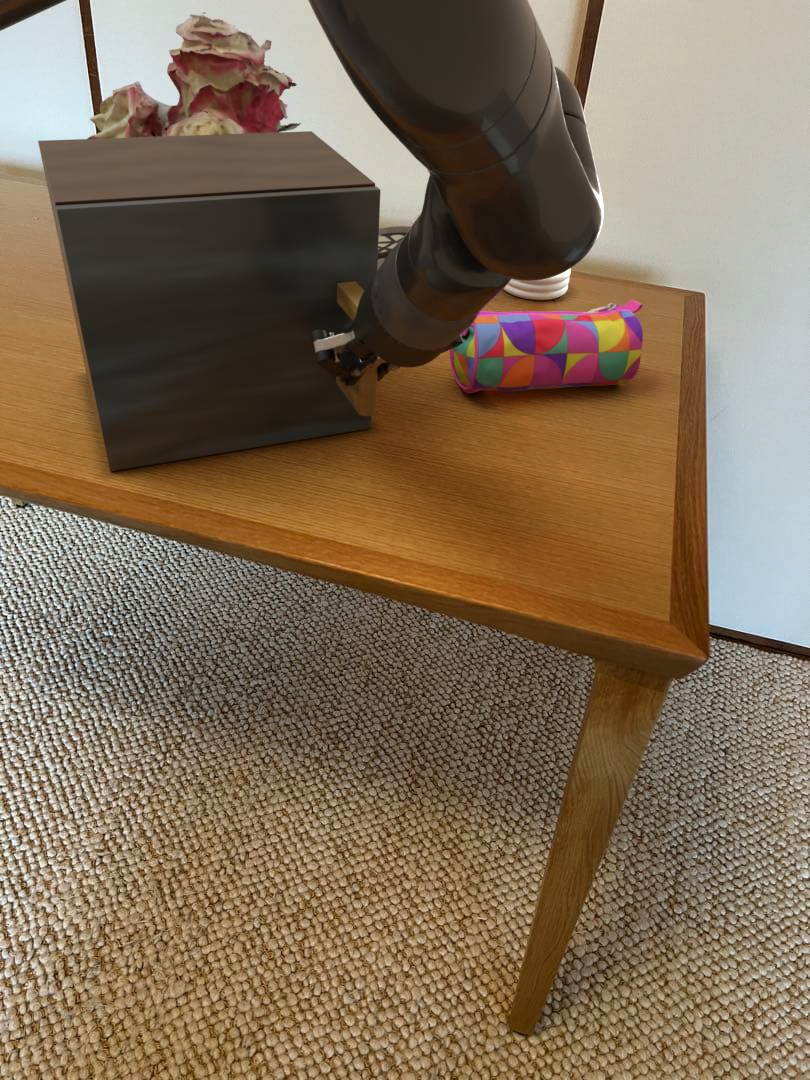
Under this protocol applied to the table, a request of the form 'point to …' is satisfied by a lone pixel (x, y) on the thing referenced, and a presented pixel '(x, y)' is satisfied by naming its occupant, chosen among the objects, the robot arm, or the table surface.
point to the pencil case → (549, 349)
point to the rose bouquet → (204, 89)
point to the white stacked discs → (540, 287)
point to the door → (220, 317)
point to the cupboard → (187, 173)
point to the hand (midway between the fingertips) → (359, 373)
